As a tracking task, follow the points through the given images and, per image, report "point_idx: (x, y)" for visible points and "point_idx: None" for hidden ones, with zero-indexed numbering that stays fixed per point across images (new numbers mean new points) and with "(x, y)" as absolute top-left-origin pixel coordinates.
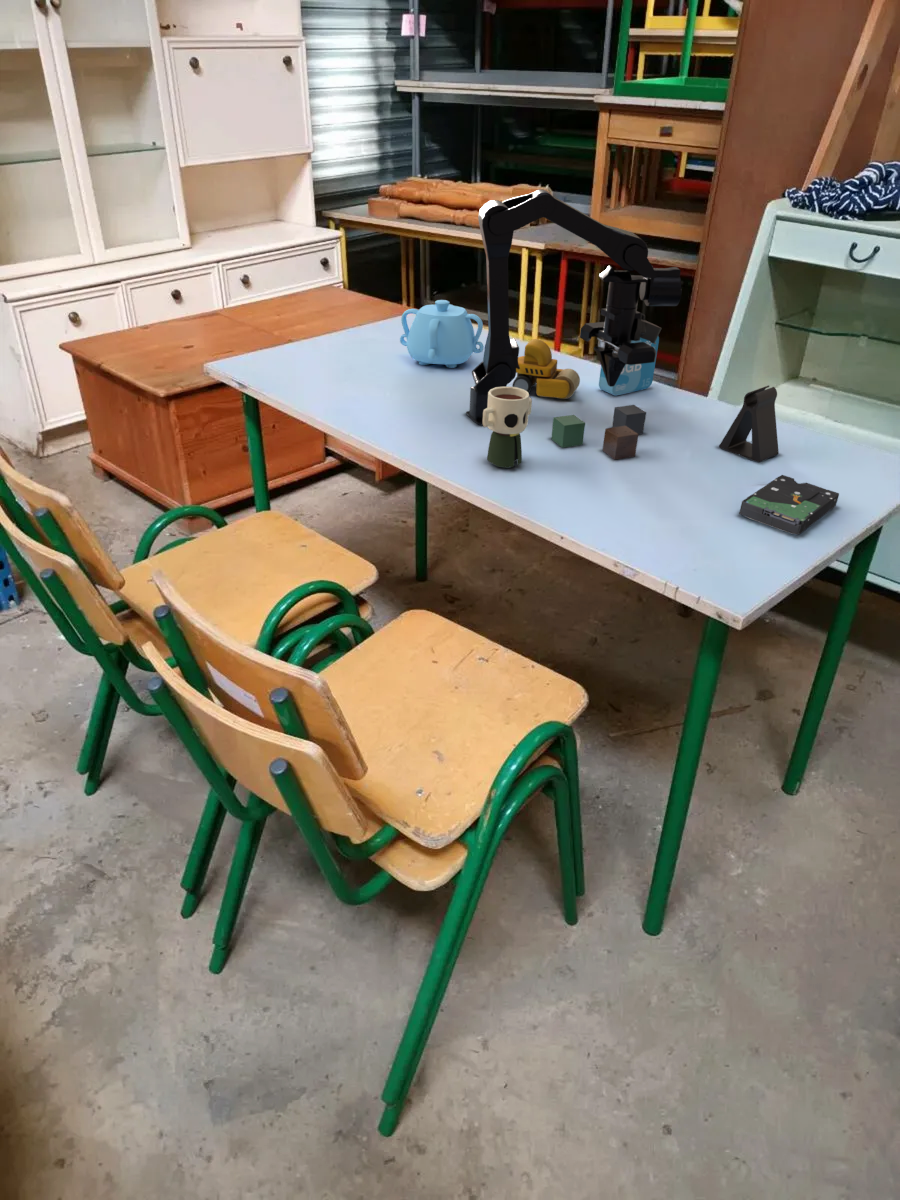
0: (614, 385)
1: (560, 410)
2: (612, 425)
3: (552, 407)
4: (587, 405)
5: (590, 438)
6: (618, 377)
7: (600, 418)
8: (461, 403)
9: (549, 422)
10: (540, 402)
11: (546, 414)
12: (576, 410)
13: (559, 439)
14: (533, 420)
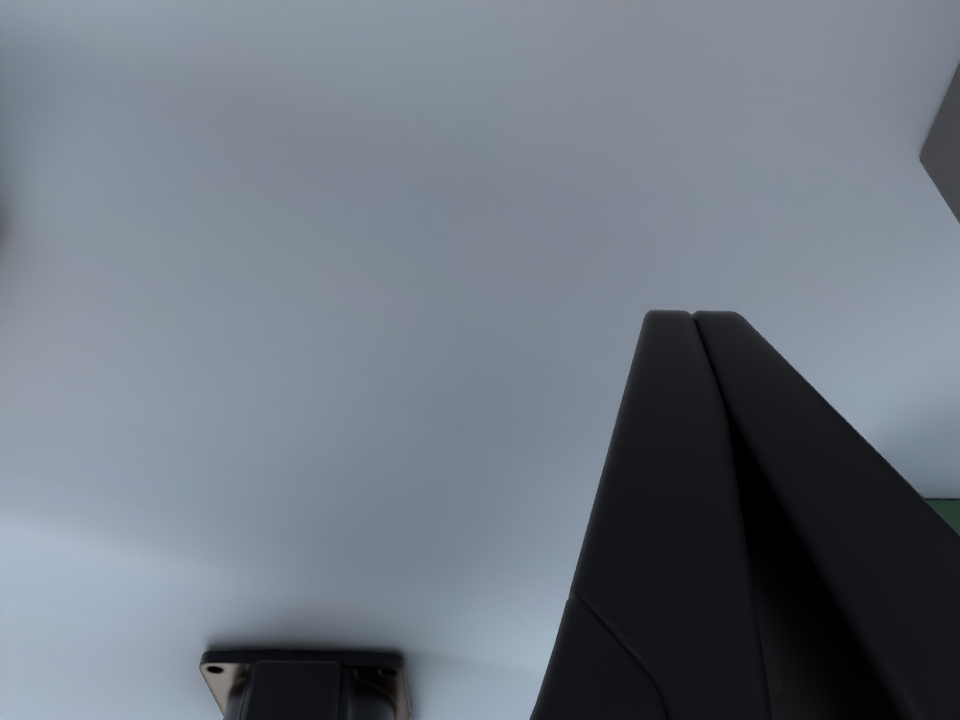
0: (741, 321)
1: (249, 355)
2: (935, 179)
3: (161, 378)
4: (114, 38)
5: (941, 416)
6: (868, 451)
7: (590, 116)
8: (60, 701)
9: (493, 505)
10: (21, 408)
11: (325, 467)
12: (275, 233)
13: None
14: (420, 558)
